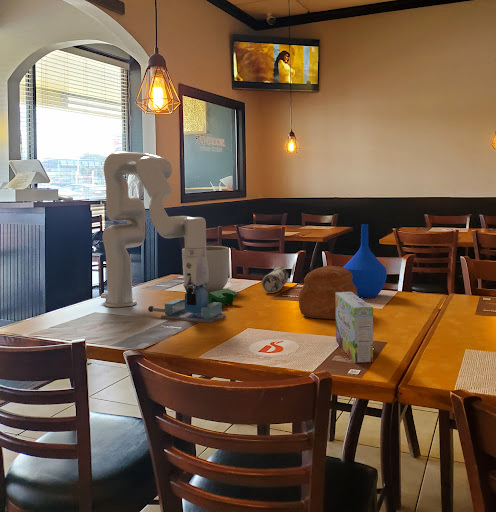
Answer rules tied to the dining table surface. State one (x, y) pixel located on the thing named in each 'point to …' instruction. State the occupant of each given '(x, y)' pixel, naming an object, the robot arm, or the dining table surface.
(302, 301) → the bread
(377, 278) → the vase
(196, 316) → the vise bed
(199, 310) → the perfume bottle
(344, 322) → the snack box
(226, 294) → the clamp
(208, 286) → the planter
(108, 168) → the robot arm
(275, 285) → the pencil case
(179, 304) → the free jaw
